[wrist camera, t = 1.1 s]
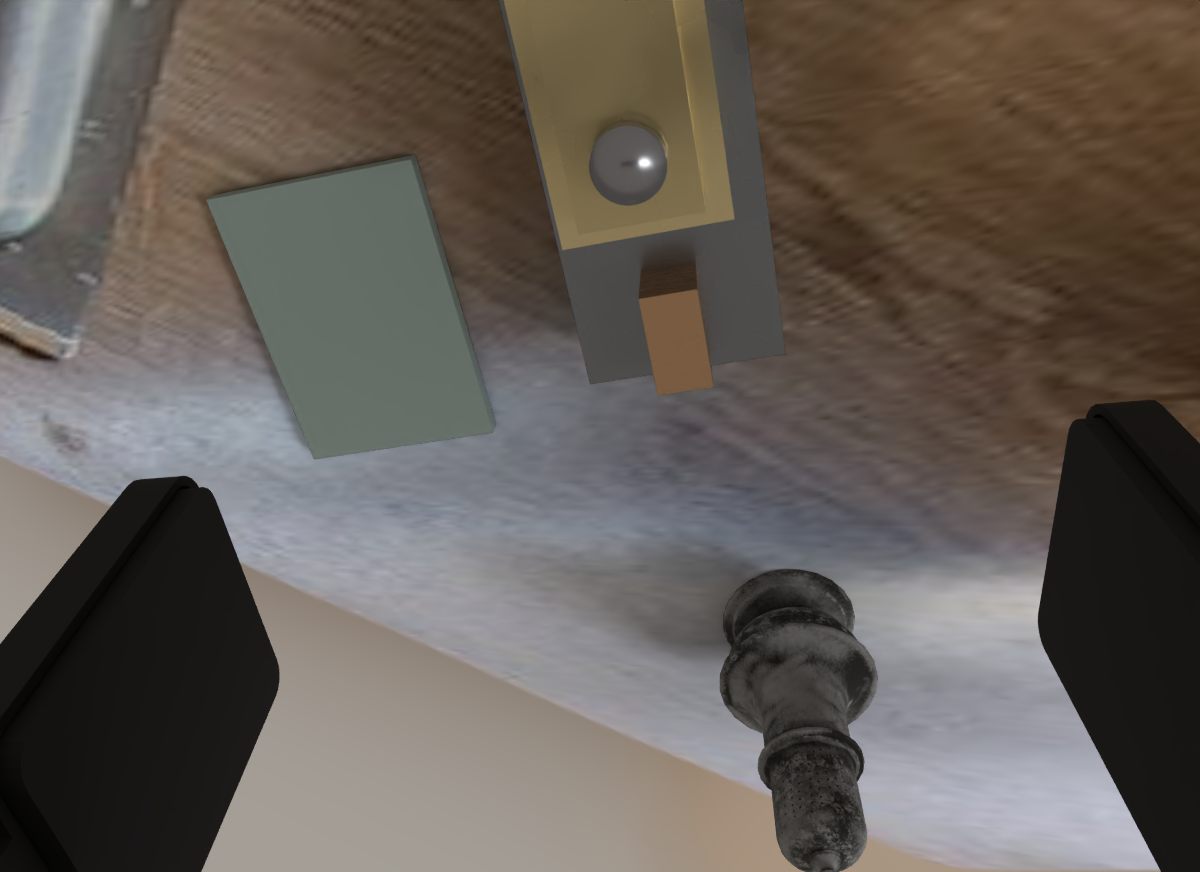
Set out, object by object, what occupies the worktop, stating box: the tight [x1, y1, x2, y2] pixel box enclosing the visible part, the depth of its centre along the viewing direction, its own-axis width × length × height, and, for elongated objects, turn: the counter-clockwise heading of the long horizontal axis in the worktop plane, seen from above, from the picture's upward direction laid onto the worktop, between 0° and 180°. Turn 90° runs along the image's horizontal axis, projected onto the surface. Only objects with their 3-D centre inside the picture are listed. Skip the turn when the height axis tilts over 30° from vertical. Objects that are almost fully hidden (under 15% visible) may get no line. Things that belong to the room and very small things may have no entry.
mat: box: [206, 155, 496, 459], centre depth 33 cm, size 7×10×1 cm
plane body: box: [499, 0, 786, 395], centre depth 25 cm, size 6×18×6 cm, turn 12°
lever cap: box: [504, 0, 734, 250], centre depth 22 cm, size 4×6×7 cm, turn 12°
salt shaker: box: [720, 570, 878, 872], centre depth 34 cm, size 6×6×12 cm
